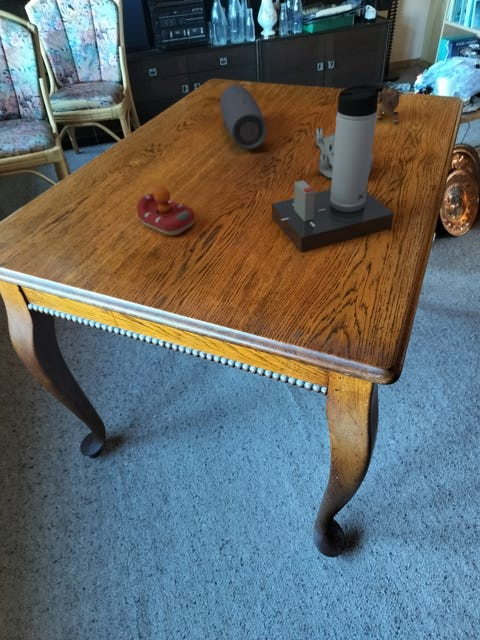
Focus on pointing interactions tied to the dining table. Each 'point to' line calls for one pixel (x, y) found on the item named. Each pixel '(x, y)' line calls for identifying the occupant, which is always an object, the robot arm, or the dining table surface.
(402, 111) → the dining table surface
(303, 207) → the grey rectangular block
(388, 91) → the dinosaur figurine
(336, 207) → the travel mug
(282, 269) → the dining table surface
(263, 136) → the bluetooth speaker
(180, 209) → the toy boat
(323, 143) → the grey lumpy piece
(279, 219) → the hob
